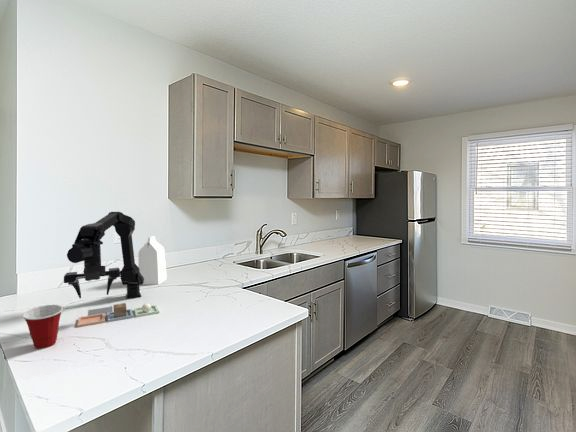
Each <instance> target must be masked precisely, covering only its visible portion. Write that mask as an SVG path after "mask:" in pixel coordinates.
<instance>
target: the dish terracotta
mask: <svg viewBox="0 0 576 432" xmlns="http://www.w3.org/2000/svg"><path fill="white" fill-rule="evenodd" d="M105 316H106V314H105V313H103V314H96V315H90V316H88V315H86V316H85V315H83V316H79V317H78V321H77V324H76V325H77V328H82V327H87V326H93V325H99V324H104V323H106V319H105V318H106V317H105Z"/></svg>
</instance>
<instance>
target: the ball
mask: <svg viewBox="0 0 576 432" xmlns="http://www.w3.org/2000/svg"><path fill="white" fill-rule="evenodd" d="M151 306H152V305H151V304H150V303H144V304H143V305H142V306H141V307H142V310H143V311H144V312H148V311H149V310H150V309H151Z"/></svg>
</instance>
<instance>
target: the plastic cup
mask: <svg viewBox="0 0 576 432" xmlns="http://www.w3.org/2000/svg"><path fill="white" fill-rule="evenodd" d="M63 310H64V307H63V306H62V305H60V304H47V305H46V304H45V305H41V306H37V307H33V308H30V309H28V310H26V311H25V312H24V313H22V318H23V319H24V320H25V322H26V325H27V328H28V331H29V333H30V338H31V341H32V343H33V346H34V349H38V350H39V349H40V350H42V349H47V348H50V347H52V346H54V345H55V344H56V343H57V338H58V334H59V325H60V320H61V319H60V318H61V315H62V312H63Z"/></svg>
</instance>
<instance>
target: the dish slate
mask: <svg viewBox="0 0 576 432" xmlns="http://www.w3.org/2000/svg"><path fill="white" fill-rule="evenodd" d="M132 310H133V309H132V308H128V309H127V308H126V313H127V316H125V317H119V318H114V311H113V312H109V313H107V314H106V315H107V323H111V322H117V321H122V320H128V319H129V320H130V319H134V314H133V311H132Z"/></svg>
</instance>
